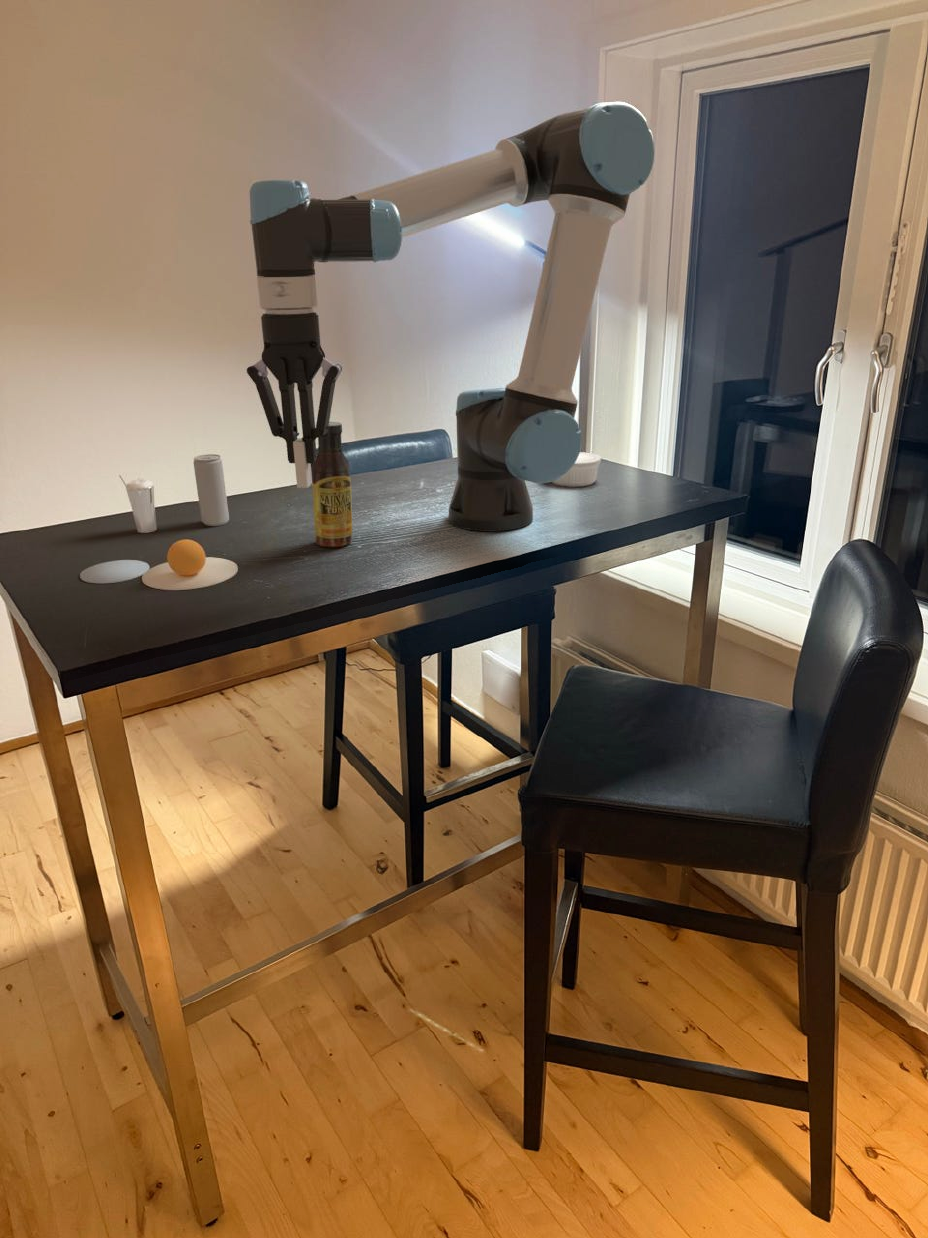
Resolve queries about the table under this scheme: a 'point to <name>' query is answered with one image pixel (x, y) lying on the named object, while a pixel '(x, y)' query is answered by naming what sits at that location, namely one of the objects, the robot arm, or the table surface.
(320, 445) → the sauce bottle
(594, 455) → the ramekin
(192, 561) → the ball
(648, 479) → the table surface
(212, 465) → the beverage can
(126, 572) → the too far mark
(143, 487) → the milkshake
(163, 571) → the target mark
